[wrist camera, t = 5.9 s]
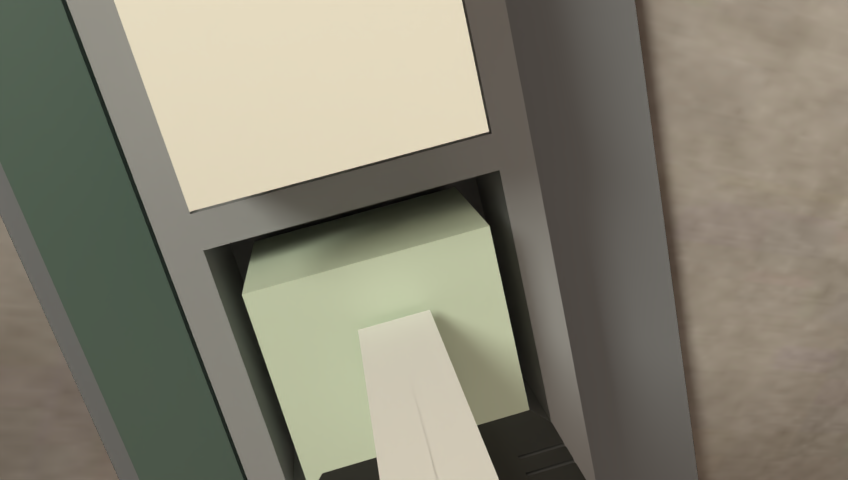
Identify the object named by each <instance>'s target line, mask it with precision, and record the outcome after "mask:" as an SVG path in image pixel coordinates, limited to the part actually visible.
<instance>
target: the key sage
mask: <svg viewBox="0 0 848 480" xmlns="http://www.w3.org/2000/svg"><path fill="white" fill-rule="evenodd" d="M242 297H243V299H244V302H245V305H246V308H247V311H248V314H249V317H250V320H251V323H252V325H253V328H254V331H255V334H256V337H257V340H258V343H259V346H260V348H261V351H262V354H263V357H264V360H265V363H266V366H267V369H268V372H269V374H270V377H271V380H272V383H273V386H274V389H275V392H276V395H277V397H278V400H279V403H280V406H281V409H282V412H283V415H284V418H285V421H286V423H287V426H288V429H289V432H290V435H291V438H292V441H293V444H294V446H295V449H296V452H297V455H298V458H299V461H300V464H301V467H302V469H303V472H304V475H305V478H306V480H319V478H320V477H321V475H322V473H325V472H328V471H332V470H335V469H339V468H342V467H345V466H349V465H352V464H356V463H359V462H362V461H366V460H369V459H373V458H376V450H375V443H374V436H373V430H372V423H371V416H370V409H369V402H368V396H367V389H366V382H365V375H364V368H363V361H362V355H361V348H360V341H359V334H358V330H359V329H363V328H366V327H370V326H373V325H377V324H381V323H384V322H388V321H391V320H395V319H398V318H402V317H405V316H409V315H413V314H416V313H420V312H423V311H427V310H430V311H431V314H432V316H433V319H434V321H435V324H436V326H437V329H438V331H439V333H440V336H441V338H442V341H443V343H444V346H445V348H446V351H447V353H448V356H449V358H450V361H451V363H452V365H453V368H454V370H455V373H456V375H457V378H458V380H459V383H460V385H461V388H462V390H463V392H464V395H465V397H466V400H467V402H468V405H469V407H470V410H471V412H472V415H473V417H474V420H475V422H476V424H477V425H480V424H483V423H487V422H490V421H494V420H497V419H500V418H504V417H507V416H511V415H514V414H517V413H521V412H524V411H528V410H529V406H528V401H527V397H526V392H525V387H524V383H523V378H522V373H521V369H520V364H519V360H518V355H517V350H516V346H515V341H514V336H513V332H512V327H511V323H510V318H509V313H508V309H507V304H506V300H505V295H504V290H503V286H502V281H501V276H500V272H499V267H498V263H497V258H496V253H495V249H494V244H493V240H492V235H491V230H490V226H489V225H488V224H487V222H486V221H485V220H484V219H483V218H482V217H481V216H480V215H479V213H478V212H477V211H476V210H475V209H474V208H473V207H472V206H471V204H470V203H469V202H468V201H467V200H466V199H465V198H464V197H463V195H462V194H461V193H460V192H459V191H458V190H457V189H456V188H455V187H453V188H449V189H445V190H442V191H438V192H434V193H431V194H427V195H423V196H420V197H416V198H412V199H409V200H405V201H401V202H398V203H394V204H390V205H387V206H383V207H379V208H376V209H372V210H368V211H365V212H361V213H357V214H354V215H350V216H346V217H343V218H339V219H335V220H332V221H328V222H324V223H321V224H317V225H313V226H310V227H306V228H302V229H299V230H295V231H291V232H288V233H284V234H280V235H276V236H273V237H269V238H265V239H262V240H258V241H254V244H253V249H252V253H251V257H250V262H249V266H248V270H247V275H246V279H245V283H244V287H243V292H242Z"/></svg>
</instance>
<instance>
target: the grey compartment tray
mask: <svg viewBox="0 0 848 480" xmlns="http://www.w3.org/2000/svg"><path fill="white" fill-rule="evenodd" d="M462 4H463V8H464V13H465V18H466V23H467V28H468V33H469V37H470V42H471V47H472V52H473V57H474V62H475V66H476V71H477V76H478V81H479V86H480V90H481V95H482V100H483V105H484V110H485V115H486V119H487V124H488V129H489V132H486V133H482V134H478V135H475V136H471V137H467V138H463V139H460V140H456V141H452V142H448V143H445V144H441V145H437V146H433V147H430V148H426V149H422V150H419V151H415V152H411V153H407V154H404V155H400V156H396V157H392V158H389V159H385V160H381V161H377V162H374V163H370V164H366V165H362V166H359V167H355V168H351V169H347V170H344V171H340V172H336V173H332V174H329V175H325V176H321V177H317V178H314V179H310V180H306V181H303V182H299V183H295V184H291V185H288V186H284V187H280V188H276V189H273V190H269V191H265V192H261V193H258V194H254V195H250V196H246V197H243V198H239V199H235V200H231V201H228V202H224V203H220V204H216V205H213V206H209V207H205V208H202V209H198V210H194V211H190V212H189V209H188V206H187V204H186V201H185V198H184V195H183V192H182V190H181V187H180V184H179V181H178V178H177V176H176V173H175V170H174V167H173V164H172V162H171V159H170V156H169V153H168V151H167V148H166V145H165V142H164V139H163V137H162V134H161V131H160V128H159V125H158V123H157V120H156V117H155V114H154V111H153V109H152V106H151V103H150V100H149V97H148V95H147V92H146V89H145V86H144V84H143V81H142V78H141V75H140V72H139V70H138V67H137V64H136V61H135V58H134V56H133V53H132V50H131V47H130V44H129V42H128V39H127V36H126V33H125V31H124V28H123V25H122V22H121V19H120V17H119V14H118V11H117V8H116V5H115V3H114V0H0V215H1V217H2V220H3V222H4V224H5V226H6V229H7V231H8V233H9V235H10V237H11V240H12V242H13V244H14V246H15V249H16V251H17V253H18V255H19V258H20V260H21V262H22V264H23V266H24V269H25V271H26V273H27V275H28V278H29V280H30V282H31V284H32V286H33V289H34V291H35V293H36V295H37V298H38V300H39V302H40V304H41V307H42V309H43V311H44V313H45V315H46V318H47V320H48V322H49V324H50V327H51V329H52V331H53V333H54V335H55V338H56V340H57V342H58V344H59V347H60V349H61V351H62V353H63V355H64V358H65V360H66V362H67V364H68V367H69V369H70V371H71V373H72V376H73V378H74V380H75V382H76V384H77V387H78V389H79V391H80V393H81V396H82V398H83V400H84V402H85V404H86V407H87V409H88V411H89V413H90V416H91V418H92V420H93V422H94V425H95V427H96V429H97V431H98V433H99V436H100V438H101V440H102V442H103V445H104V447H105V449H106V451H107V453H108V456H109V458H110V460H111V462H112V465H113V467H114V469H115V471H116V473H117V476H118V478H119V480H306V478H305V475H304V472H303V469H302V467H301V464H300V461H299V458H298V455H297V452H296V449H295V446H294V444H293V441H292V438H291V435H290V432H289V429H288V426H287V423H286V421H285V418H284V415H283V412H282V409H281V406H280V403H279V400H278V397H277V395H276V392H275V389H274V386H273V383H272V380H271V377H270V374H269V372H268V369H267V366H266V363H265V360H264V357H263V354H262V351H261V348H260V346H259V343H258V340H257V337H256V334H255V331H254V328H253V325H252V323H251V320H250V317H249V314H248V311H247V308H246V305H245V302H244V299H243V297H242V292H243V287H244V283H245V279H246V275H247V270H248V266H249V262H250V257H251V253H252V249H253V244H254V241H258V240H262V239H265V238H269V237H273V236H276V235H280V234H284V233H288V232H291V231H295V230H299V229H302V228H306V227H310V226H313V225H317V224H321V223H324V222H328V221H332V220H335V219H339V218H343V217H346V216H350V215H354V214H357V213H361V212H365V211H368V210H372V209H376V208H379V207H383V206H387V205H390V204H394V203H398V202H401V201H405V200H409V199H412V198H416V197H420V196H423V195H427V194H431V193H434V192H438V191H442V190H445V189H449V188H453V187H455V188H456V189H457V190H458V191H459V192H460V193H461V194H462V195H463V197H464V198H465V199H466V200H467V201H468V202H469V203H470V204H471V206H472V207H473V208H474V209H475V210H476V211H477V212H478V213H479V215H480V216H481V217H482V218H483V219H484V220H485V221H486V222H487V224H488V225H489V226H490V230H491V235H492V240H493V244H494V249H495V253H496V258H497V263H498V267H499V272H500V276H501V281H502V286H503V290H504V295H505V300H506V304H507V309H508V313H509V318H510V323H511V327H512V332H513V336H514V341H515V346H516V350H517V355H518V360H519V364H520V369H521V373H522V378H523V383H524V387H525V392H526V397H527V401H528V406H529V410H531V411H533V412H535V413H536V414H538V415H540V416H541V417H543V418H545V419H546V420H548V421H550V422H551V423H552V424H553V425H554V427H555V429H556V430H557V432H558V434H559V435H560V437H561V439H562V440H563V442H564V445H565V446H566V447H567V449H568V450H569V452H570V454H571V455H572V457H573V459H574V462H575V463H576V464H577V465H578V467H579V469H580V470H581V472H582V474H583V475H584V477H585V479H586V480H698V474H697V466H696V459H695V451H694V444H693V436H692V429H691V421H690V413H689V406H688V398H687V391H686V383H685V376H684V368H683V361H682V353H681V345H680V338H679V330H678V323H677V315H676V308H675V300H674V293H673V285H672V278H671V270H670V262H669V255H668V247H667V240H666V232H665V225H664V217H663V210H662V202H661V194H660V187H659V179H658V172H657V164H656V157H655V149H654V142H653V134H652V127H651V119H650V111H649V104H648V96H647V89H646V81H645V74H644V66H643V59H642V51H641V43H640V36H639V28H638V21H637V13H636V6H635V0H462Z"/></svg>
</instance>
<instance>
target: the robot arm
mask: <svg viewBox="0 0 848 480" xmlns="http://www.w3.org/2000/svg"><path fill="white" fill-rule="evenodd" d="M358 334H359V341H360V348H361V355H362V361H363V368H364V375H365V382H366V389H367V396H368V402H369V409H370V416H371V423H372V430H373V436H374V443H375V450H376V458H373V459H369V460H366V461H362V462H359V463H356V464H352V465H349V466H345V467H342V468H339V469H335V470H332V471H328V472H325V473H322V475H321V477H320V478H319V480H586V479H585V477H584V475H583V474H582V472H581V470H580V469H579V467H578V465H577V464H576V463H575V462H574V459H573V457H572V455H571V454H570V452H569V450H568V449H567V447H566V446H565V445H564V442H563V440H562V439H561V437H560V435H559V434H558V432H557V430H556V429H555V427H554V425H553V424H552V423H551V422H550V421H548V420H546V419H545V418H543V417H541V416H540V415H538V414H536V413H535V412H533V411H531V410H528V411H524V412H521V413H517V414H514V415H511V416H507V417H504V418H500V419H497V420H494V421H490V422H487V423H483V424H480V425H477V424H476V422H475V420H474V417H473V415H472V412H471V410H470V407H469V405H468V402H467V400H466V397H465V395H464V392H463V390H462V388H461V385H460V383H459V380H458V378H457V375H456V373H455V370H454V368H453V365H452V363H451V361H450V358H449V356H448V353H447V351H446V348H445V346H444V343H443V341H442V338H441V336H440V333H439V331H438V329H437V326H436V324H435V321H434V319H433V316H432V314H431V311H430V310H427V311H423V312H420V313H416V314H413V315H409V316H405V317H402V318H398V319H395V320H391V321H388V322H384V323H381V324H377V325H373V326H370V327H366V328H363V329H359V330H358Z"/></svg>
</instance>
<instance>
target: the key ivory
mask: <svg viewBox="0 0 848 480" xmlns="http://www.w3.org/2000/svg"><path fill="white" fill-rule="evenodd" d="M114 3H115V5H116V8H117V11H118V14H119V17H120V19H121V22H122V25H123V28H124V31H125V33H126V36H127V39H128V42H129V44H130V47H131V50H132V53H133V56H134V58H135V61H136V64H137V67H138V70H139V72H140V75H141V78H142V81H143V84H144V86H145V89H146V92H147V95H148V97H149V100H150V103H151V106H152V109H153V111H154V114H155V117H156V120H157V123H158V125H159V128H160V131H161V134H162V137H163V139H164V142H165V145H166V148H167V151H168V153H169V156H170V159H171V162H172V164H173V167H174V170H175V173H176V176H177V178H178V181H179V184H180V187H181V190H182V192H183V195H184V198H185V201H186V204H187V206H188V209H189V212H190V211H194V210H198V209H202V208H205V207H209V206H213V205H216V204H220V203H224V202H228V201H231V200H235V199H239V198H243V197H246V196H250V195H254V194H258V193H261V192H265V191H269V190H273V189H276V188H280V187H284V186H288V185H291V184H295V183H299V182H303V181H306V180H310V179H314V178H317V177H321V176H325V175H329V174H332V173H336V172H340V171H344V170H347V169H351V168H355V167H359V166H362V165H366V164H370V163H374V162H377V161H381V160H385V159H389V158H392V157H396V156H400V155H404V154H407V153H411V152H415V151H419V150H422V149H426V148H430V147H433V146H437V145H441V144H445V143H448V142H452V141H456V140H460V139H463V138H467V137H471V136H475V135H478V134H482V133H486V132H489V129H488V124H487V119H486V115H485V110H484V105H483V100H482V95H481V90H480V86H479V81H478V76H477V71H476V66H475V62H474V57H473V52H472V47H471V42H470V37H469V33H468V28H467V23H466V18H465V13H464V8H463V4H462V0H114Z"/></svg>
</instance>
